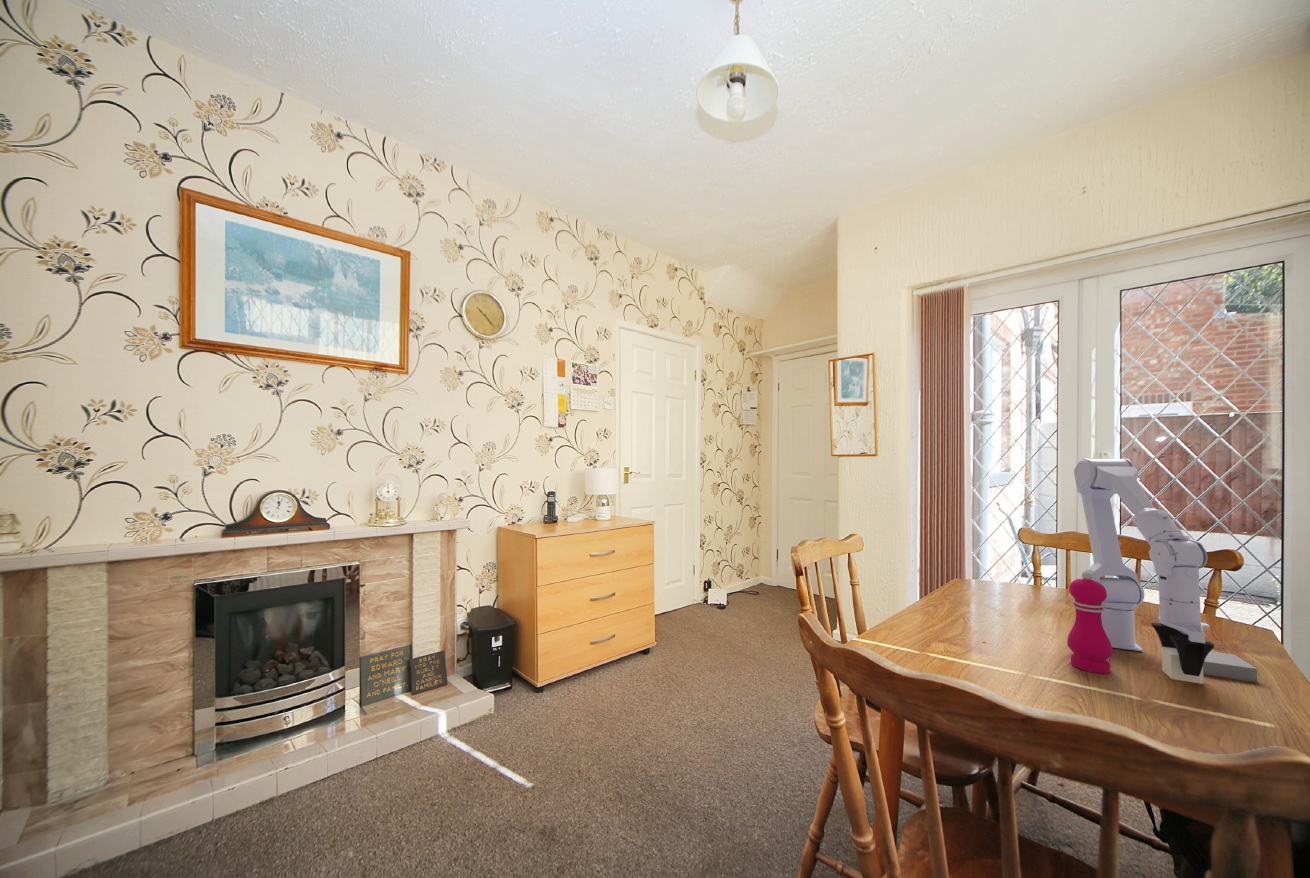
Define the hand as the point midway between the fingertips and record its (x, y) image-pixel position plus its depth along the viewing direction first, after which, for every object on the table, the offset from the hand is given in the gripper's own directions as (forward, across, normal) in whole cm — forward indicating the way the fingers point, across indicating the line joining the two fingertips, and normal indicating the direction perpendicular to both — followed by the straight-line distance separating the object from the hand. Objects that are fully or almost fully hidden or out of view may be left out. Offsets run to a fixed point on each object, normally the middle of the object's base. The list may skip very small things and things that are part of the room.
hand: (1182, 667), depth 99 cm
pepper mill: (+2, -3, +15) cm, 15 cm away
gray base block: (+2, +8, -8) cm, 12 cm away
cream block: (+2, 0, 0) cm, 2 cm away
